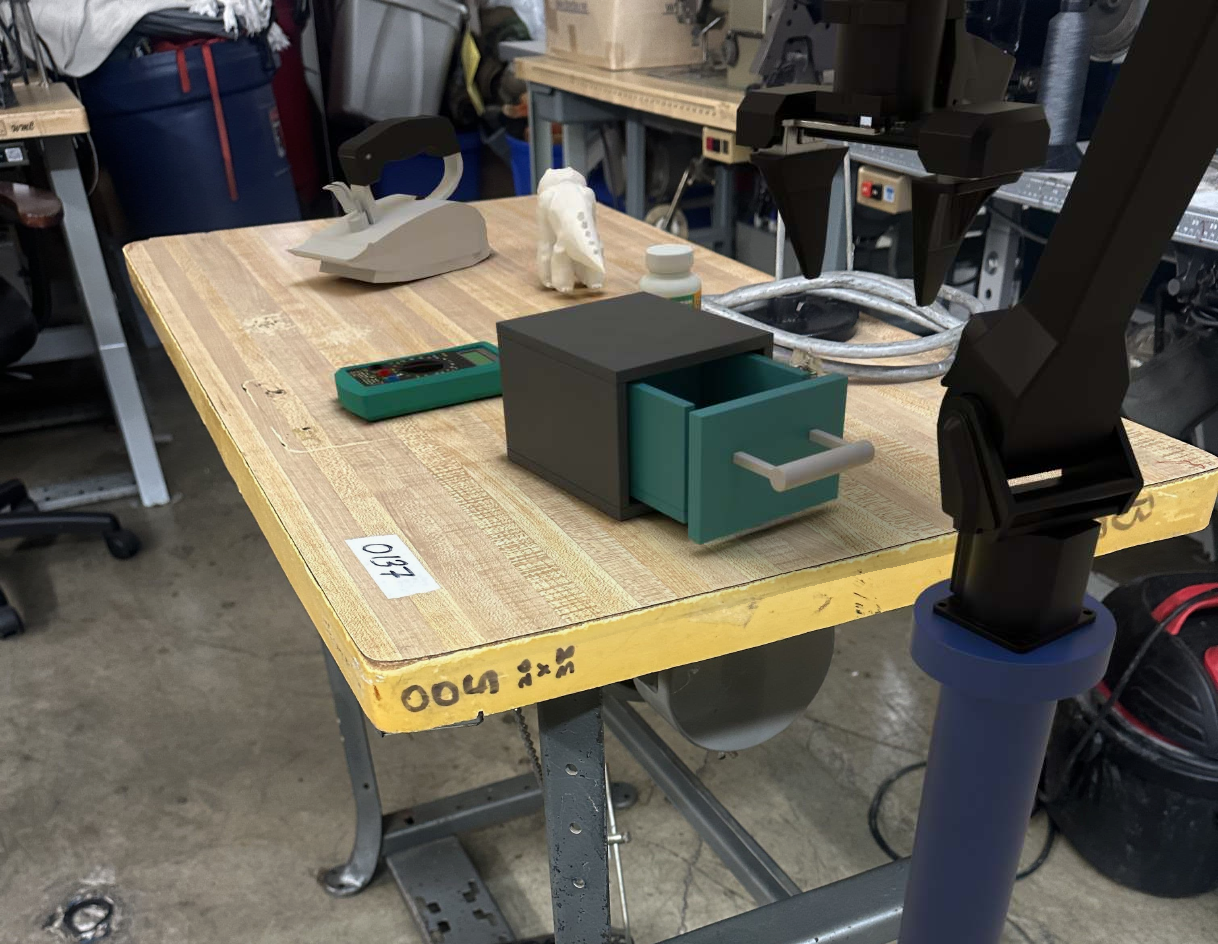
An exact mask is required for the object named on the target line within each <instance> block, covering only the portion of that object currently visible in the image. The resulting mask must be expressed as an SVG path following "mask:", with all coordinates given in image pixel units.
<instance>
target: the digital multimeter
mask: <svg viewBox="0 0 1218 944" xmlns="http://www.w3.org/2000/svg"><path fill="white" fill-rule="evenodd" d="M333 376H334V382H335V383H334V384H335V388H336V393H337V398H338V401H339V403H340V406H342V408H344V409H345V410H347V411H349V412H351V413H353V414H355V415H357V416H359V417H361V418H362V419H365V420H367V421H369V422H373V421H377V420H382V419H383V420H384V419H388V418H393V417H397V416H401V415H406V414H412V413H417V412H421V411H425V410H426V411H427V410H430V409H431V410H432V409H435V408H440V407H441V408H442V407H445V406H449V405H450V406H451V405H455V404H459V403H465V402H469V401H474V400H478V399H484V398H489V397H493V396H498V395H502V386H501V375H500V363H499V352H498V345H494V344H493V343H491V342H488V341H485V340H481V341H476V342H471V343H467V344H462V345H457V346H451V347H448V348H442V349H439V350H433V351H428V352H423V353H422V352H421V353H418V354H417V353H416V354H413V355H407V356H402V357H396V358H390V359H384V360H378V361H373V362H367V363H361V364H355V365H349V366H342V367H339V369H338V370H337V371H336V372H334V374H333Z"/></svg>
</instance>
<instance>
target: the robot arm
mask: <svg viewBox="0 0 1218 944" xmlns="http://www.w3.org/2000/svg"><path fill="white" fill-rule="evenodd" d="M821 5H822V6H821V19H820V21H821V22H820V23H821V24H836V38H835V39H836V40H835V51H834V64H833V65H834V66H833V81H832V85H823V84H822V85H820V84H809V83H797V84H789V85H780V86H773V87H765V88H759V89H752V90H751V89H750V90H748V91H747V93H746V94H745V95H744V97H743V99H742V100H741V102H740V104H739V105H738V107H737V108H736V110H735V111H736V114H735V115H736V116H735V146H739V147H746V148H747V147H748V148H754V149H758V150H757V151H752V152H750V153H748V161H749V163H750V164H752V165H756V167H757V168H758V170H759V172H760V174H761V176H762V178H763V181H764V183H765V185H766V187H767V189H768V192H769V194H770V196H771V198H772V200H773V202H774V205H775V206H776V207H775V208H777V211H778V214H779V216H780V218H781V221H782V223H783V226H784V228H785V231H786V234H787V236H788V239H789V242H790V245H791V247H792V250H793V252H794V255H795V258H796V260H797V263H798V265H799V268H800V272H801V273H802V276H803V278H804V279H805V280H809V281H812V280H816V279H819V278H820V277H821V275H822V272H823V271H822V270H823V265H824V260H825V256H826V255H825V254H826V248H827V237H828V227H829V217H830V207H831V199H832V189H833V188H832V187H833V181H834V179H835V177H836V174H837V172H838V170H839V169H840V167H841V165H842V163H843V161H844V160H845V158H846V156H847V154H848V152H849V150H850V146H849V145H842V144H835V143H828V140H831V141H838V142H846V143H854V144H862V145H869V146H877V147H883V148H892V149H900V150H908V151H915V152H916V155H917V157H918V159H919V160H920V163H921V164H922V167H923V168H924V171H925V172H926V173H927V174H929V175H924V176H918V177H913V178H911V180H910V191H911V192H910V195H911V196H910V197H911V200H910V201H911V240H912V241H911V242H912V244H911V246H912V284H913V291H914V299H915V305H916V307H918V308H925V307H929V306H932V305H933V304H934V303H935V301H936V298H937V296H938V294H939V293H940V290H941V288H942V286H943V284H944V282H945V279H946V277H947V275H948V273H949V272H950V269H951V267H952V265H953V262H954V261H955V259H956V256H957V254H958V252H959V251H960V248H961V246H962V244H963V241H964V240H965V237H966V236H967V234H968V231H969V229H970V228H971V226H972V225H973V222H974V221H975V220H976V217H977V216H978V214H979V213H980V211H981V209H982V208H983V206H984V205H985V204H986V203H987V202H988V200H989V199H990V198H991V197H992V196H993V195H994V194H995V193H997V191H998V190H999V189H1000V188H1002V186H1006V185H1007V186H1008V185H1012V184H1016V183H1018V182H1019V180H1021V177H1022V175H1023V174H1024V171H1025V170H1029V169H1035V168H1039V167H1045V166H1046V164H1047V163H1046V162H1047V156H1048V151H1049V145H1050V140H1051V133H1052V128H1051V122H1050V121H1049V118H1048V116H1047V113H1046V111H1045V109H1044V107H1043V104H1037V103H1025V102H1015V101H1005V100H1004V97H1005V94H1006V92H1007V88H1008V85H1009V82H1010V79H1011V77H1012V74H1013V72H1014V71H1013V70H1014V67H1015V64H1016V62H1017V60H1016V58H1015V56H1013V55H1011V54H1009V53H1008V52H1006V51H1004V50H1003V49H1001V48H999V47H998V46H996V45H994V44H993V43H991V42H989V41H988V40H985V39H984V38H982V37H980V36H976V35H974V34H972V33H970V32H967V28H966V21H967V15H968V6H967V5H968V4H967V3H966V0H822V3H821ZM1003 100H1004V101H1003ZM862 117H863V118H870V124H862V123H861V122H862ZM1095 125H1096V126H1095V127H1094V130H1093V133H1092V134H1091V137H1090V140H1089V141H1088V144H1087V146H1086V148H1085V152H1084V154H1083V156H1082V159H1081V161H1080V163H1079V165H1078V168H1077V170H1076V173H1075V175H1074V177H1073V180H1072V183H1071V185H1070V187H1069V190H1068V191H1067V194H1066V196H1065V199H1064V201H1063V204H1062V206H1061V208H1060V210H1059V213H1058V216H1057V217H1056V220H1055V222H1054V225H1053V227H1052V230H1051V232H1050V234H1049V237H1048V239H1047V242H1046V243H1045V247H1044V248H1043V251H1042V253H1041V256H1040V258H1039V261H1038V263H1037V265H1036V268H1035V270H1034V272H1033V275H1032V277H1031V280H1030V281H1029V284H1028V287H1027V289H1026V291H1025V293H1024V294H1023V296H1022V297H1021V299H1020V300H1019V301H1018V302H1016V303H1015V304H1014V305H1013V306H1012V307H1006V308H1000V309H993V310H987V311H980V312H975V313H973V314H972V315H971V316H970V318H969V319H968V321H967V322H966V324H965V325H964V327H963V328H962V331H961V332H960V337H959V341H958V346H957V349H956V354H955V356H954V359H953V361H952V362H951V365H950V367H949V369H948V371H947V372H946V373H945V375H943V377H942V378H941V379H940V386H941V387H942V388H946V391H945V393H944V394H943V397H942V399H941V402H940V406H939V410H938V416H937V422H936V442H937V443H936V444H937V456H938V458H937V459H938V460H937V461H938V473H939V487H940V488H939V489H940V503H941V510H942V511H941V512H943V513H944V514H945V515H946V516H949V517H950V518H952V522H953V523H952V528H953V529H954V530H956V531H957V537H956V543H955V549H954V555H953V561H952V567H951V573H950V578H951V579H950V586H949V588H950V591H951V592H952V593H953V595H951V596H949V597H946V598H944V599H941V600H939V601H936V602H935V603H934V604H933V613H935V614H936V615H939V616H941V617H943V618H945V619H947V620H949V621H951V622H953V623H955V624H957V625H959V626H961V627H963V628H965V629H967V630H969V631H971V632H973V633H975V634H977V635H979V636H981V637H983V638H985V639H987V640H989V641H991V642H993V643H995V644H997V645H999V646H1001V647H1003V648H1005V649H1007V650H1009V651H1011V652H1013V653H1016V654H1026V653H1029V652H1031V651H1033V650H1035V649H1038V648H1040V647H1042V646H1044V645H1046V644H1048V643H1051V642H1053V641H1055V640H1057V639H1059V638H1062V637H1064V636H1066V635H1068V634H1070V633H1072V632H1075V631H1077V630H1079V629H1081V628H1083V627H1086V626H1088V625H1090V624H1092V623H1094V622H1095V621H1096V617H1097V613H1096V611H1094V610H1092V609H1089V608H1087V607H1085V606H1083V601H1084V597H1085V593H1087V588H1088V583H1089V581H1090V575H1091V571H1092V567H1093V563H1094V558H1095V555H1096V550H1097V547H1098V541H1099V537H1100V533H1101V530H1102V526H1103V524H1102V522H1100V521H1098V520H1097V519H1101V518H1106V517H1110V516H1123V515H1127V514H1128V513H1130V511H1131V509H1132V507H1133V506H1134V503H1135V502H1136V500H1137V499H1138V497H1139V495H1140V494H1141V492H1142V490H1143V488H1144V486H1145V480H1144V477H1143V474H1142V471H1141V468H1140V466H1139V462H1138V460H1137V457H1136V455H1135V452H1134V449H1133V446H1132V444H1131V440H1130V438H1129V436H1128V432H1127V430H1126V427H1125V424H1124V422H1123V418H1122V416H1121V413H1120V412H1121V409H1122V406H1123V404H1124V401H1125V399H1126V395H1127V394H1128V390H1129V388H1130V384H1131V381H1132V373H1131V372H1132V371H1131V364H1130V356H1129V355H1130V354H1129V347H1128V337H1127V329H1128V327H1129V323H1130V321H1131V319H1132V317H1133V315H1134V313H1135V311H1136V310H1137V307H1138V305H1139V303H1140V301H1141V299H1142V297H1143V296H1144V294H1145V292H1146V290H1147V288H1148V286H1149V284H1150V282H1151V280H1152V278H1153V276H1154V275H1155V272H1156V271H1157V268H1158V266H1159V265H1160V262H1161V260H1162V258H1163V256H1164V255H1165V252H1166V251H1167V249H1168V246H1169V245H1170V243H1171V241H1172V238H1173V237H1174V235H1175V233H1176V231H1177V229H1178V227H1179V225H1180V223H1181V221H1182V219H1183V217H1184V216H1185V213H1186V211H1187V209H1188V208H1189V205H1190V203H1191V202H1192V200H1193V198H1194V196H1195V194H1196V192H1197V190H1198V188H1199V186H1200V183H1201V182H1202V180H1203V178H1204V177H1205V174H1206V172H1207V171H1208V168H1209V167H1210V165H1211V162H1212V160H1213V159H1214V157H1215V155H1216V153H1217V151H1218V0H1148V1H1147V4H1146V6H1145V9H1144V10H1143V14H1142V16H1141V18H1140V20H1139V23H1138V25H1137V28H1136V30H1135V33H1134V35H1133V37H1132V40H1131V42H1130V45H1129V47H1128V49H1127V51H1126V54H1125V57H1124V59H1123V61H1122V64H1121V65H1120V68H1119V71H1118V73H1117V76H1116V78H1115V80H1114V82H1113V85H1112V87H1111V89H1110V92H1109V94H1108V97H1107V99H1106V101H1105V104H1104V106H1103V109H1102V111H1101V113H1100V115H1099V118H1098V121H1097V122H1096V124H1095ZM893 129H894V130H893ZM896 130H900V131H896ZM1055 471H1060V475H1057V476H1054V477H1047V478H1043V479H1038V480H1034V481H1029V482H1024V483H1020V484H1014V485H1010V483H1009V481H1010V480H1015V479H1020V478H1026V477H1030V476H1035V475H1040V474H1045V473H1049V472H1055Z"/></svg>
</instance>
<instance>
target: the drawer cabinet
mask: <svg viewBox="0 0 1218 944" xmlns="http://www.w3.org/2000/svg"><path fill="white" fill-rule="evenodd" d="M495 330H496V341H497V347H498V352H499V363H500V375H501V386H502V394H501V395H502V397H501V398H502V406H503V419H504V420H503V421H504V429H505V440H506V456H507V459H508V460H510V461H512V462H513V463H515V464H517V465H519V466H521V467H523V468H524V469H526V470H528V471H530V472H532V473H533V474H535V475H536V476H538V477H540V478H542V479H544V480H546V481H547V482H550V483H551V484H553V485H555V486H557V487H558V488H560V489H562V490H563V491H565V492H567V493H569V494H571V495H573V496H575V497H576V498H578V499H580V500H582V502H583V501H584V502H585V503H587V504H589V505H591V506H592V507H594V508H595V509H596V508H597V509H598V510H600V511H601V512H603V513H605V514H607V515H608V516H610V517H612V518H614V519H616V520H617V521H619V522H622V521H625V520H628V519H631V518H635V517H638V516H641V515H644V514H647V513H650V512H654V511H658V510H657V509H655V508H653V507H651V506H649V505H647V504H645V503H643V502H642V501H640V500H638V499H636V498H634V497H632V496H630V495H629V476H628V434H627V391H626V382H629V381H633V380H637V379H641V378H645V377H649V376H652V375H656V374H660V373H664V372H668V371H672V370H676V369H680V368H684V367H688V366H692V365H696V364H700V363H704V362H708V361H712V360H716V359H720V358H724V357H728V356H732V355H736V354H740V353H744V352H748V351H750V352H753V353H756V354H758V355H761V356H764V357H767V358H770V359H773V360H774V343H775V339H774V338H775V333H774V332H772V331H769V330H766V329H763V328H760V327H757V326H754V325H751V324H747V323H744V322H742V321H737V320H735V319H732V318H728V317H725V316H722V315H719V314H716V313H713V312H710V311H706V310H704V309H702V308H701V309H698V308H694V307H691V306H688V305H685V304H682V303H679V302H676V301H673V300H669V299H666V298H663V297H660V296H657V295H654V294H651V293H648V292H645V291H642V292H638V291H637V292H633V293H632V292H631V293H627V294H622V295H618V296H614V297H609V298H605V299H604V298H603V299H599V300H595V301H590V302H584V303H580V304H575V305H571V306H566V307H562V308H561V307H560V308H557V309H553V310H549V311H547V310H546V311H543V312H538V313H534V314H528V315H524V316H518V317H515V318H510V319H505V320H500V321H496V322H495Z"/></svg>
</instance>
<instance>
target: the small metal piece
mask: <svg viewBox="0 0 1218 944" xmlns="http://www.w3.org/2000/svg"><path fill="white" fill-rule="evenodd" d="M812 352H813V348H812V347H809V350H808V351H805V350H804V349H802V348H799V347H797V346H793V350H792V354H791V357H790V361H789V365H790V366H793V367H796V368H799V369H802V370H805V371H808V372H811V373H812V376H811V379H813V378H816V377H820V376H824V371H823V368H822V367H823V360H822V358H819V357H817V356H814V355H813V354H811V353H812Z"/></svg>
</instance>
